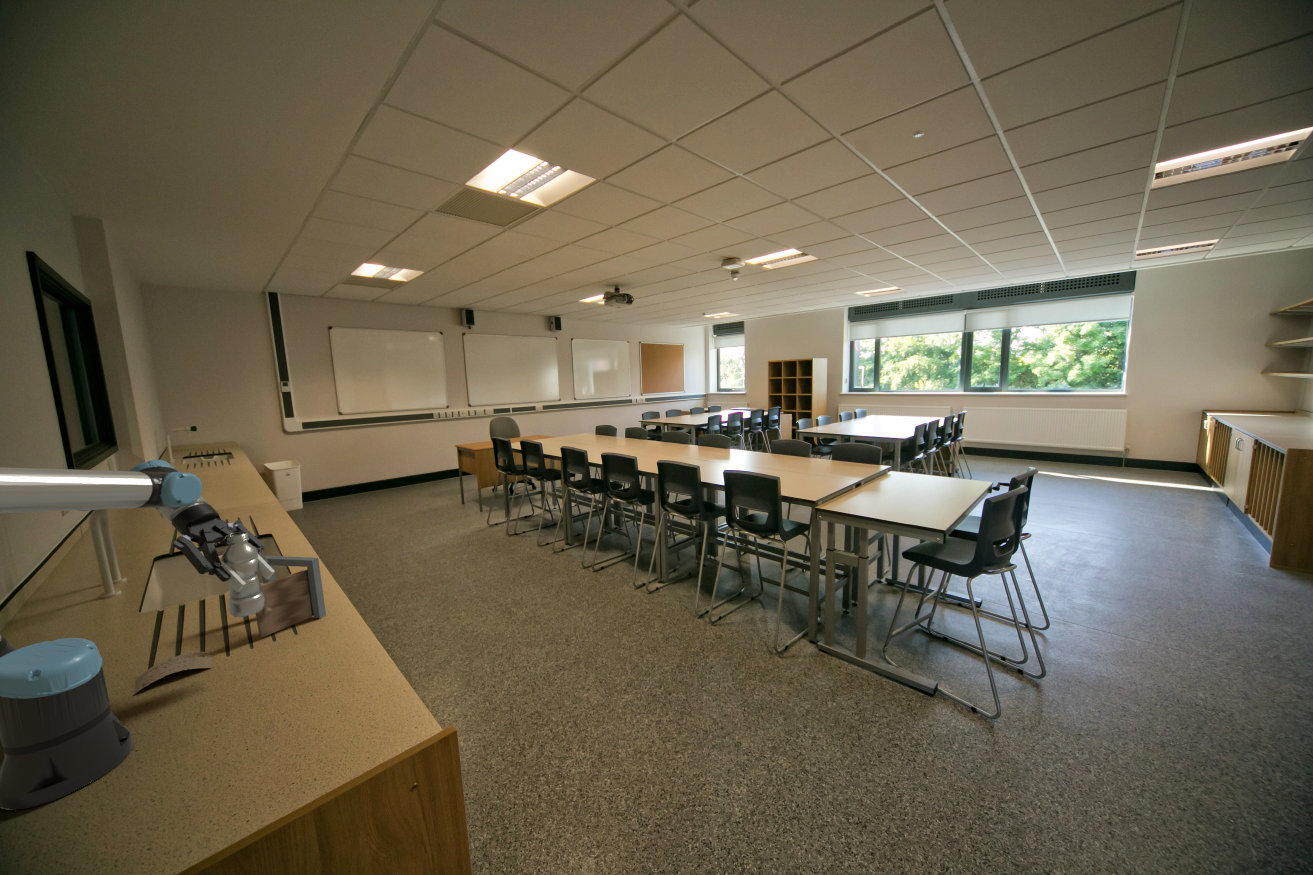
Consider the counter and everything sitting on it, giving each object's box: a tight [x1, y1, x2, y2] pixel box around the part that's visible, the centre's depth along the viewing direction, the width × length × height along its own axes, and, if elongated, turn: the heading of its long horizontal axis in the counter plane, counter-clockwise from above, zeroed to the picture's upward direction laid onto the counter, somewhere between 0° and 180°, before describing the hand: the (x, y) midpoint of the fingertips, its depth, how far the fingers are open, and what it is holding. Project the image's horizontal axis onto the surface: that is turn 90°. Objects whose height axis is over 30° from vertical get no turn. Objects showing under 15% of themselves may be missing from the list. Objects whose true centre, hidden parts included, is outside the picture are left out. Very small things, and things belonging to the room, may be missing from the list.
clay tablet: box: [133, 651, 213, 696], centre depth 110 cm, size 14×10×3 cm
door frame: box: [261, 555, 327, 619], centre depth 134 cm, size 2×18×18 cm, turn 81°
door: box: [255, 569, 314, 638], centre depth 127 cm, size 13×3×14 cm, turn 151°
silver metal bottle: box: [220, 532, 265, 618], centre depth 108 cm, size 6×7×20 cm
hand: (256, 581), depth 108 cm, fingers closed on silver metal bottle, 6 cm apart
